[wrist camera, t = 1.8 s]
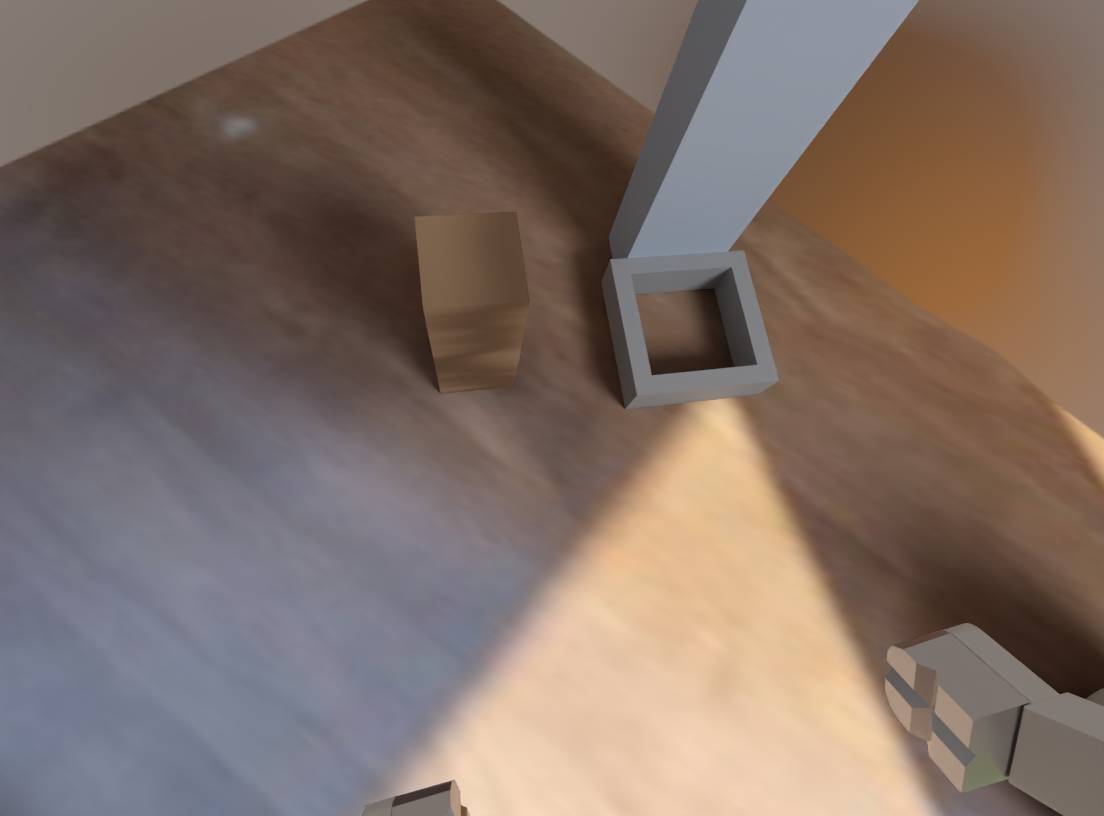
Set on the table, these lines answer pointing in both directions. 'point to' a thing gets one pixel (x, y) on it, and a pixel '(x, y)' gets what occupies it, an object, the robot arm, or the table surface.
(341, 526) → the table surface
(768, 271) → the table surface
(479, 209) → the table surface
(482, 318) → the wooden square post
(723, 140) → the grey tower with tray
